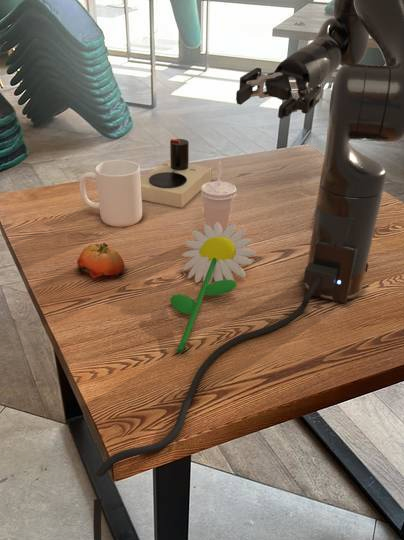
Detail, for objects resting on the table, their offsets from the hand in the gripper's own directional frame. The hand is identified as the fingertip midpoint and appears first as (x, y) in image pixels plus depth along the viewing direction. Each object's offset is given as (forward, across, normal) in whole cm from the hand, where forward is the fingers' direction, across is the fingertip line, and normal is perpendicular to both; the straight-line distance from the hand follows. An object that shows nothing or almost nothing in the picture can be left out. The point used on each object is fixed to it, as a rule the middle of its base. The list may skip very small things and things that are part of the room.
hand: (259, 105), depth 100 cm
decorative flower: (+32, +10, +16) cm, 37 cm away
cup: (+19, -21, +21) cm, 35 cm away
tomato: (+35, -8, +17) cm, 40 cm away
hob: (0, -19, +24) cm, 31 cm away
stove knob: (-5, -21, +22) cm, 31 cm away
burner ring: (+3, -19, +20) cm, 28 cm away
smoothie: (+13, +1, +20) cm, 24 cm away
